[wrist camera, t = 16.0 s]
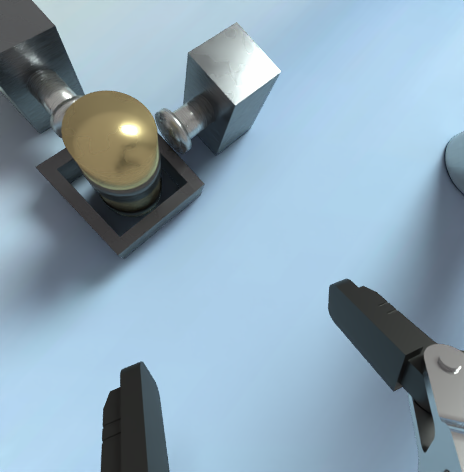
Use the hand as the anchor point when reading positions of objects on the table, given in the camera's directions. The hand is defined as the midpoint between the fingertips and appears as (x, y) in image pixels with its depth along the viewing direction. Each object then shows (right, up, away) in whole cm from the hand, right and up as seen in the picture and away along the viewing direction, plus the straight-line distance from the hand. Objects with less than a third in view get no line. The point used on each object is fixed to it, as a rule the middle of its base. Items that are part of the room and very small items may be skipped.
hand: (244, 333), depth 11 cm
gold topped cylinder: (-10, +8, +14) cm, 19 cm away
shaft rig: (-10, +14, +15) cm, 23 cm away
